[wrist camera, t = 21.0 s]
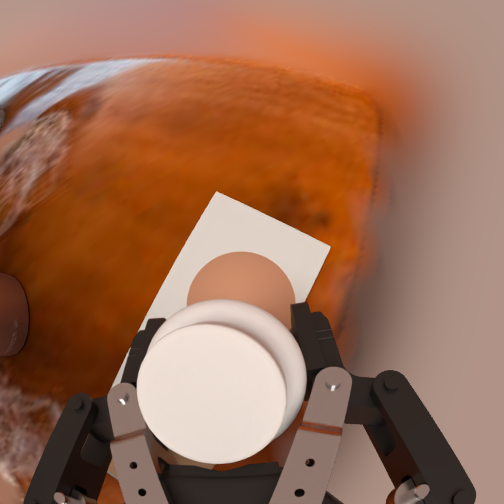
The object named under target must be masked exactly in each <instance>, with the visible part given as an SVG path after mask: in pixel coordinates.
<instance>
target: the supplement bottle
mask: <svg viewBox="0 0 504 504" xmlns="http://www.w3.org/2000/svg"><path fill="white" fill-rule="evenodd" d="M306 383H307V376H306V366H305V362H304V358H303V355H302V352H301V349H300V347H299V345H298V343H297V342H296V340H295V338H294V337H293V335H292V334H291V333H290V331H289V330H288V329H287V328H286V327H285V326H284V325H283V324H282V322H281V321H279V320H278V319H277V318H276V317H275V316H273V315H272V314H270V313H269V312H267V311H265V310H264V309H262V308H260V307H257V306H255V305H253V304H249V303H246V302H242V301H238V300H231V299H212V300H205V301H201V302H197V303H194V304H192V305H189V306H187V307H185V308H183V309H181V310H179V311H178V312H176V313H175V314H173V315H172V316H171V317H170V318H168V319H167V320H166V321H165V322H164V323H163V324H162V325H161V327H160V328H159V329H158V331H157V332H156V334H155V335H154V337H153V339H152V341H151V343H150V345H149V348H148V350H147V353H146V356H145V358H144V360H143V362H142V364H141V367H140V370H139V373H138V378H137V398H138V403H139V407H140V410H141V413H142V415H143V418H144V420H145V422H146V423H147V425H148V427H149V428H150V430H151V431H152V432H153V433H154V435H155V436H156V437H157V438H158V439H159V440H160V441H161V442H162V443H163V444H164V445H166V446H167V447H168V448H169V449H171V450H173V451H174V452H176V453H178V454H180V455H182V456H183V457H186V458H189V459H191V460H194V461H198V462H203V463H211V464H224V463H232V462H236V461H240V460H243V459H246V458H248V457H250V456H252V455H254V454H256V453H257V452H259V451H260V450H262V449H263V448H264V447H265V446H266V445H268V444H269V443H270V442H271V441H273V440H274V439H276V438H277V437H278V436H280V435H281V434H282V433H283V432H284V431H285V430H286V429H287V428H288V427H289V426H290V425H291V423H292V422H293V420H294V419H295V418H296V416H297V414H298V412H299V410H300V408H301V406H302V403H303V400H304V396H305V392H306Z"/></svg>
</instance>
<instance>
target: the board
mask: <svg viewBox="0 0 504 504" xmlns="http://www.w3.org/2000/svg"><path fill="white" fill-rule="evenodd" d="M329 250H330V246H328V245H326V244H324V243H322V242H320V241H318V240H316V239H314V238H312V237H310V236H308V235H306V234H304V233H302V232H300V231H298V230H296V229H294V228H292V227H290V226H288V225H286V224H284V223H282V222H280V221H278V220H276V219H274V218H272V217H270V216H268V215H266V214H264V213H261V212H259V211H257V210H255V209H253V208H251V207H249V206H247V205H245V204H242V203H240V202H238V201H236V200H234V199H232V198H230V197H227V196H225V195H223V194H221V193H219V192H217V191H216V193H215V195H214V196H213V198H212V199H211V201H210V203H209V204H208V206H207V208H206V209H205V211H204V213H203V214H202V216H201V218H200V219H199V221H198V223H197V225H196V226H195V228H194V230H193V231H192V233H191V235H190V237H189V238H188V240H187V242H186V243H185V245H184V247H183V249H182V250H181V252H180V254H179V256H178V258H177V259H176V261H175V263H174V265H173V267H172V268H171V270H170V272H169V274H168V276H167V277H166V279H165V281H164V283H163V285H162V287H161V289H160V290H159V292H158V294H157V296H156V298H155V300H154V302H153V304H152V306H151V307H150V309H149V311H148V313H147V315H146V317H145V319H144V321H143V323H142V325H141V327H140V329H139V330H145V327H146V324H147V321H148V319H151V318H165V319H166V320H167V319H168V318H170V317H171V316H172V315H173V314H175V313H176V312H178V311H179V310H181V309H183V308H185V307H187V306H189V305H192V304H194V303H197V302H201V301H205V300H212V299H231V300H238V301H242V302H246V303H249V304H253V305H255V306H257V307H260V308H262V309H264V310H265V311H267V312H269V313H270V314H272V315H273V316H275V317H276V318H277V319H278V320H279V321H281V322H282V324H283V325H284V326H285V327H286V328H287V329H288V330H289V331H290V329H291V311H290V304H295V303H302V302H305V300H306V298H307V296H308V294H309V292H310V290H311V288H312V286H313V283H314V281H315V279H316V277H317V275H318V273H319V271H320V269H321V267H322V265H323V263H324V260H325V258H326V256H327V254H328V252H329ZM138 332H139V331H138ZM130 349H131V348H130ZM130 349H129V351H130ZM129 351H128V353H127V355H126V357H125V360H124V362H123V364H122V366H121V368H120V370H119V372H118V374H117V377H116V379H115V381H114V383H113V385H112V387H111V389H112V388H113V387H114V386H115V385H117V384H120V382H121V378H122V375H123V371H124V368H125V364H126V361H127V357H128V356H129V355H128V354H129ZM107 473H109V474H110V475H112V476H113V477H114V478H116V479H117V480H118V477H116V476H115V475H113V474H112V473H110V472H109V471H107Z"/></svg>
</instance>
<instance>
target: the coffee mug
mask: <svg viewBox="0 0 504 504" xmlns="http://www.w3.org/2000/svg"><path fill="white" fill-rule="evenodd" d="M4 119H5V111H4V110H3V109H2V108H1V107H0V129H1V127H2V125H3V122H4Z"/></svg>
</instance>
